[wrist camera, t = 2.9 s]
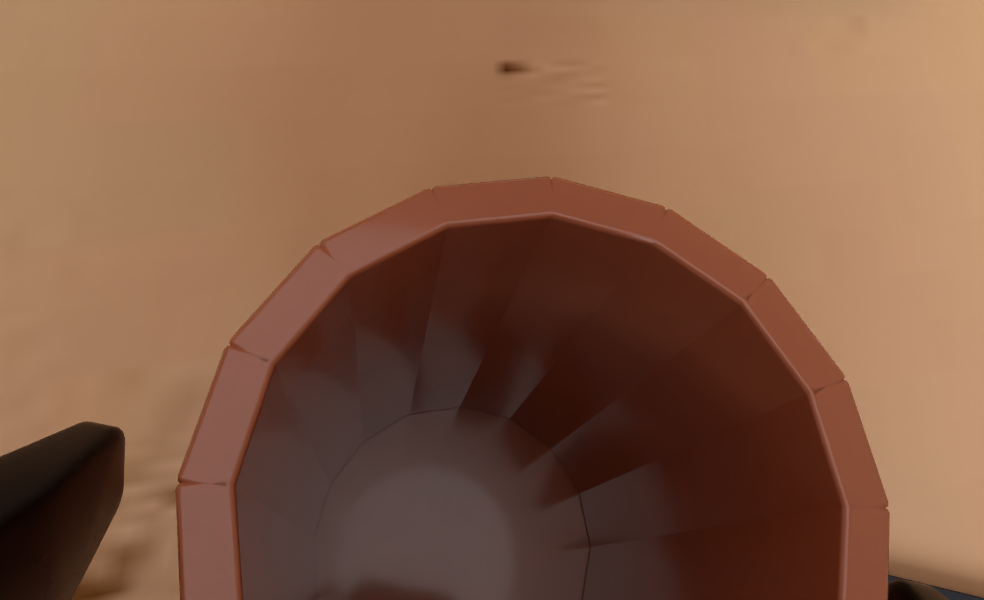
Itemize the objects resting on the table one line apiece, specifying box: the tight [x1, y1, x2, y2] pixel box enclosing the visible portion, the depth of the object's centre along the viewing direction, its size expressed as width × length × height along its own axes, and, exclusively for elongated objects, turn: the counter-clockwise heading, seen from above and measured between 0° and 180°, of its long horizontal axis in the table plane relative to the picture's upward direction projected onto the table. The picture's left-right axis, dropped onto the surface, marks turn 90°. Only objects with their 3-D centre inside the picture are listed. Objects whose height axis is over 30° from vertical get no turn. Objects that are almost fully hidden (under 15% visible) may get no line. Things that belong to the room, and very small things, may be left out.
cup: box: [175, 177, 889, 600], centre depth 12 cm, size 7×7×10 cm
